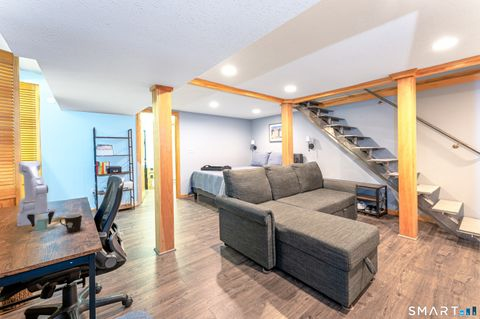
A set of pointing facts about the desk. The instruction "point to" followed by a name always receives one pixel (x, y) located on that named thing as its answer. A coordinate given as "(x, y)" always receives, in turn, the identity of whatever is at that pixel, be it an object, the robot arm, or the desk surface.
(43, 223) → the block
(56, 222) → the tan shallow tray
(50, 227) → the pad
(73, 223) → the coffee mug
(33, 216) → the robot arm
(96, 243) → the desk surface
